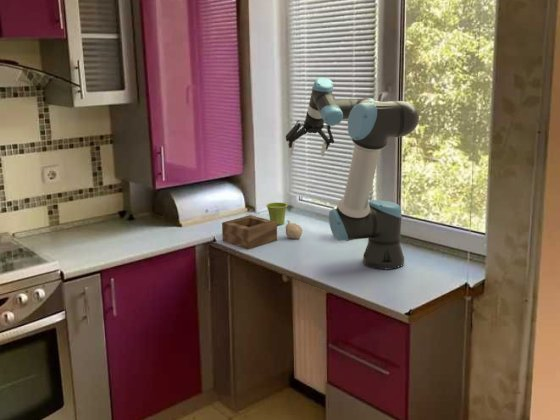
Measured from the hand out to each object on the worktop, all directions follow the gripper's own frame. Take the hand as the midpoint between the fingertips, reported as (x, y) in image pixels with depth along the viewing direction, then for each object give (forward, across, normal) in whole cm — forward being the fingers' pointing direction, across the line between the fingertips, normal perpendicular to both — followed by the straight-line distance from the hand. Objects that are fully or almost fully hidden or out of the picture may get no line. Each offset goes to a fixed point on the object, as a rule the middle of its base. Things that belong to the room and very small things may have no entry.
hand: (306, 153), depth 271 cm
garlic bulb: (+25, +4, +26) cm, 36 cm away
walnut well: (+26, +23, +27) cm, 44 cm away
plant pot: (+37, +8, +6) cm, 39 cm away
